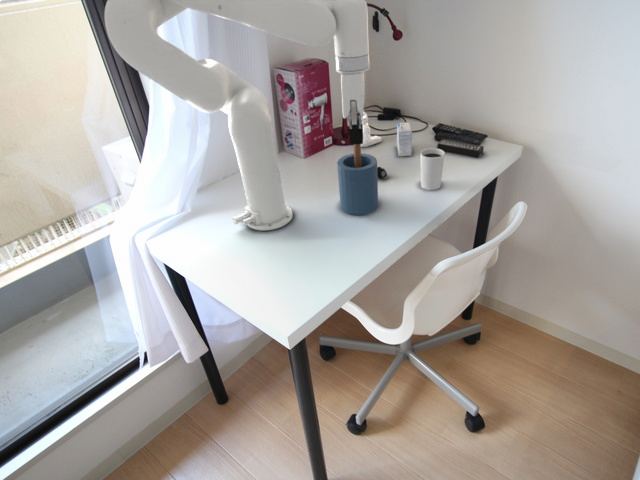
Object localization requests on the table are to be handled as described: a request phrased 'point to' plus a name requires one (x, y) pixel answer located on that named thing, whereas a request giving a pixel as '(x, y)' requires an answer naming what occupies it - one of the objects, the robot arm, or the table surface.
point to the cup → (358, 184)
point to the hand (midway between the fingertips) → (356, 141)
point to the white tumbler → (431, 168)
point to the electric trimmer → (381, 173)
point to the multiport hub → (461, 148)
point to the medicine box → (404, 139)
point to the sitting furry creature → (368, 133)
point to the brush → (357, 154)
